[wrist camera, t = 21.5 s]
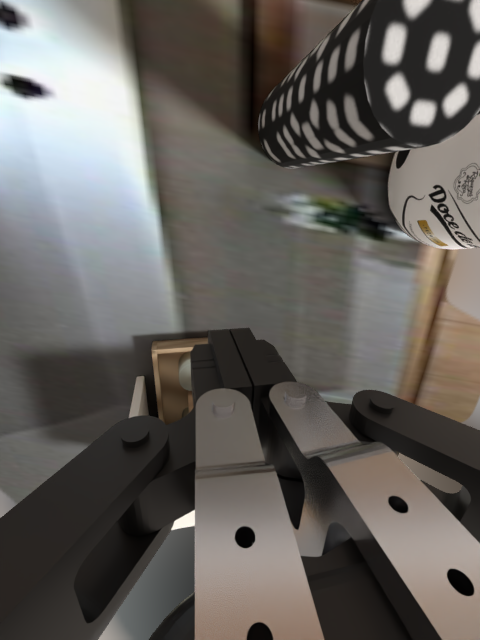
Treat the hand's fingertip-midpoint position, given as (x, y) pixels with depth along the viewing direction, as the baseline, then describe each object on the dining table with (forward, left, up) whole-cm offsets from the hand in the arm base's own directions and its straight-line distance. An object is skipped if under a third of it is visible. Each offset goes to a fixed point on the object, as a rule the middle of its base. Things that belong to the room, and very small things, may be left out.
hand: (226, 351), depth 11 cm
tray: (0, -21, -27) cm, 35 cm away
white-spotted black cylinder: (+12, +12, -27) cm, 32 cm away
